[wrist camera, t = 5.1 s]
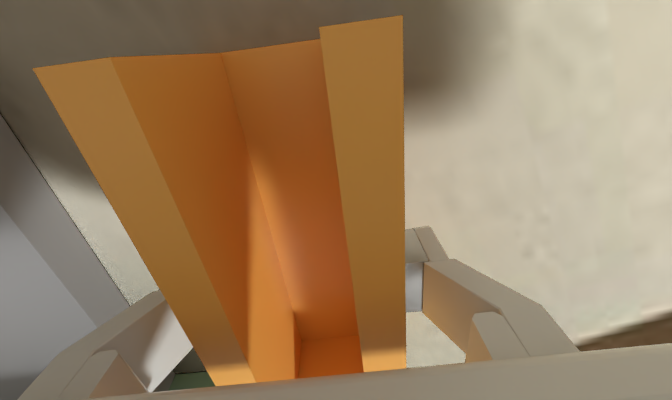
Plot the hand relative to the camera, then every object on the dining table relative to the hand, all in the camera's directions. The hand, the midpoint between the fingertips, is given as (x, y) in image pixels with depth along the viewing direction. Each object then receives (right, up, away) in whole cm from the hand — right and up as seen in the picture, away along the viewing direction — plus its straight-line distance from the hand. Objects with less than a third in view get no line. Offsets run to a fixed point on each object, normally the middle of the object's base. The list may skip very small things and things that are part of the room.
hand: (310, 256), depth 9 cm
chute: (0, +1, +2) cm, 2 cm away
